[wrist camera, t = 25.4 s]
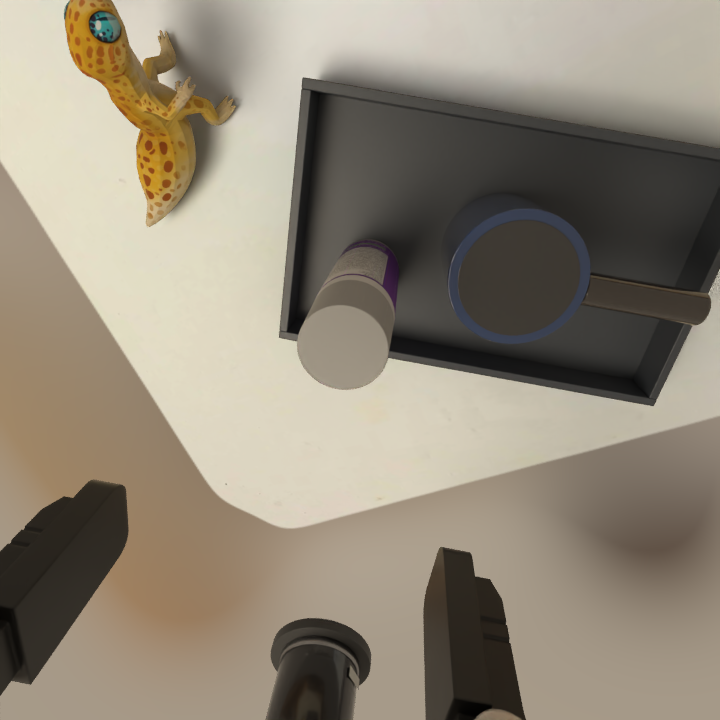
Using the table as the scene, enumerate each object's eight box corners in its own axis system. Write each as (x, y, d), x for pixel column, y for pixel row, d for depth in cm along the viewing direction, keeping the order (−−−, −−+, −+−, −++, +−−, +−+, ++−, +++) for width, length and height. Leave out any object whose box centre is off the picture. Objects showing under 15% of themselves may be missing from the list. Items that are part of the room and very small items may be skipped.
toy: (246, -17, 28) (120, 7, 22) (241, 215, 39) (157, 279, 33) (151, -52, 29) (1, -39, 23) (172, 184, 40) (76, 240, 34)
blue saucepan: (672, 220, 34) (743, 245, 26) (626, 328, 37) (679, 376, 30) (455, 183, 34) (466, 196, 27) (430, 293, 37) (434, 332, 30)
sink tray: (632, 382, 40) (653, 406, 36) (290, 320, 40) (278, 338, 37) (735, 154, 32) (773, 157, 29) (313, 82, 33) (302, 77, 29)
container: (394, 304, 38) (383, 399, 24) (334, 295, 38) (291, 384, 25) (404, 243, 36) (399, 310, 22) (341, 234, 36) (297, 295, 23)
